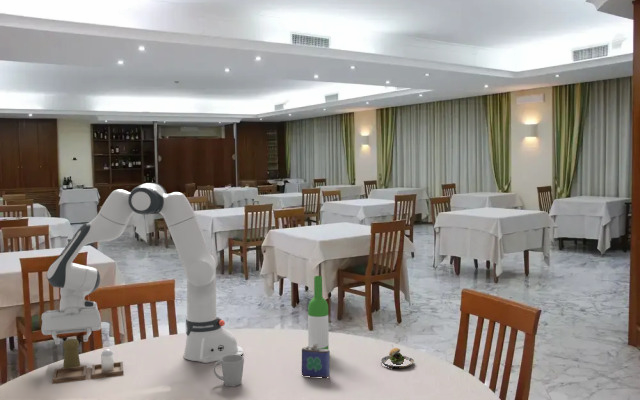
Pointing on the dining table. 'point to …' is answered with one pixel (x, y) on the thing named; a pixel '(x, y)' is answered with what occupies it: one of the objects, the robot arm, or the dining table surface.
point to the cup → (231, 369)
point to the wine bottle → (318, 318)
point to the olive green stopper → (71, 353)
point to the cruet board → (85, 373)
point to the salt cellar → (107, 361)
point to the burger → (396, 358)
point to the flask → (315, 362)
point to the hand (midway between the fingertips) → (71, 342)
